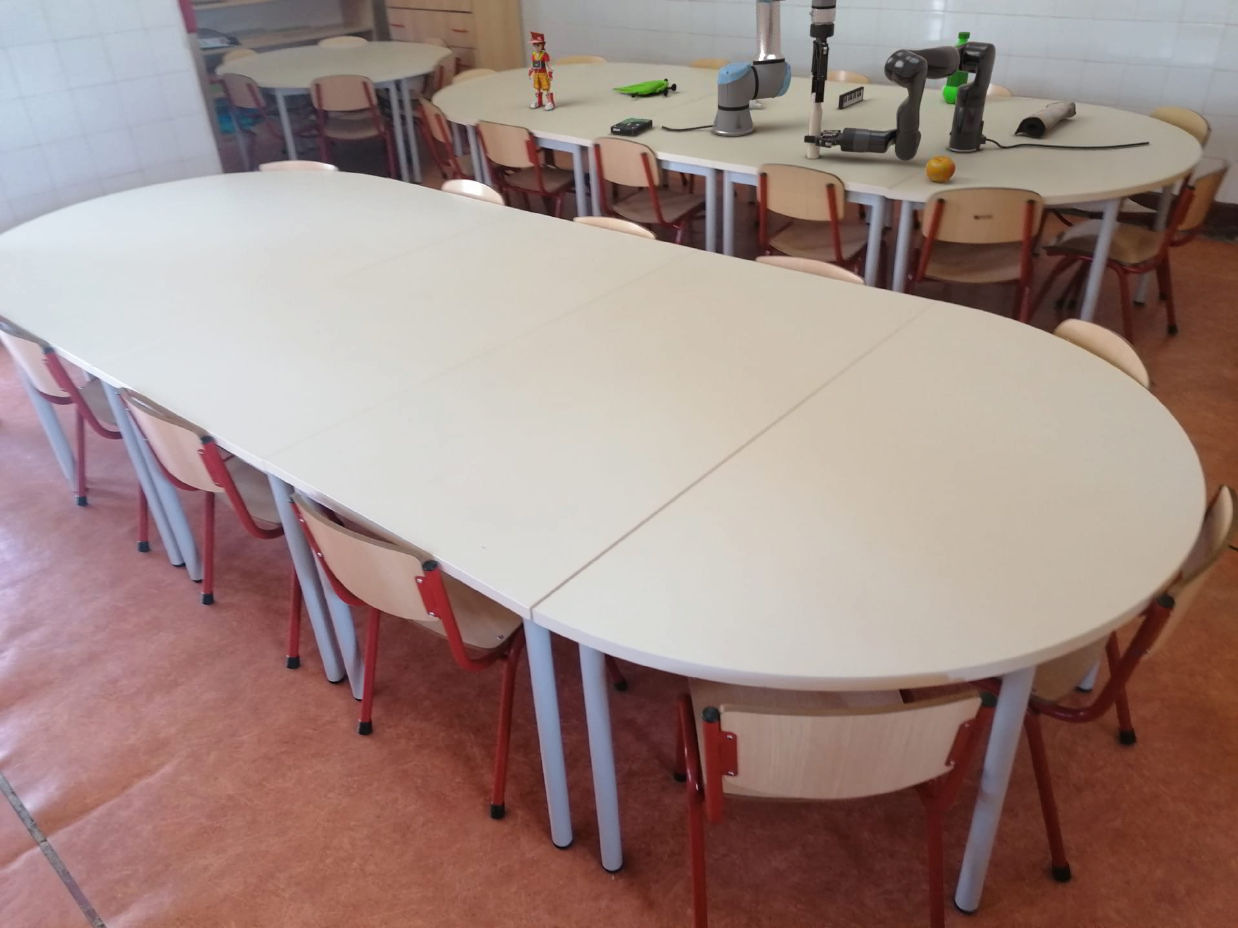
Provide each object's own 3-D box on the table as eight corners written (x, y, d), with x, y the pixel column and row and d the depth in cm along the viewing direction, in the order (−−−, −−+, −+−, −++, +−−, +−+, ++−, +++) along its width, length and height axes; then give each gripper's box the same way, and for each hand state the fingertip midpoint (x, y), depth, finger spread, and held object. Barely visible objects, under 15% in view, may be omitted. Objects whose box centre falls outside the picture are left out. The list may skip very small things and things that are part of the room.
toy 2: (686, 85, 398) (631, 84, 414) (685, 72, 395) (629, 72, 411) (651, 104, 381) (596, 103, 397) (650, 92, 378) (594, 91, 394)
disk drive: (633, 137, 337) (653, 126, 347) (633, 129, 336) (652, 119, 346) (610, 134, 342) (630, 124, 352) (609, 127, 340) (630, 117, 350)
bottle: (807, 155, 307) (811, 95, 296) (819, 155, 306) (824, 95, 295) (806, 158, 304) (810, 98, 293) (818, 158, 303) (823, 98, 292)
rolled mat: (1043, 106, 330) (1068, 89, 322) (1057, 127, 331) (1082, 110, 323) (1010, 128, 313) (1035, 111, 305) (1024, 150, 313) (1050, 133, 305)
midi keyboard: (840, 109, 355) (842, 95, 352) (838, 108, 355) (839, 95, 353) (863, 99, 365) (864, 86, 362) (860, 99, 366) (861, 86, 363)
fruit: (919, 172, 274) (936, 148, 271) (921, 174, 282) (937, 151, 279) (942, 187, 273) (960, 164, 270) (943, 189, 281) (960, 166, 278)
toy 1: (525, 109, 381) (517, 32, 364) (534, 104, 388) (527, 28, 371) (550, 110, 377) (543, 32, 360) (559, 105, 384) (553, 28, 367)
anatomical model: (728, 80, 368) (752, 74, 367) (733, 106, 374) (756, 99, 373) (735, 89, 356) (760, 82, 355) (739, 115, 362) (764, 108, 361)
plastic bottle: (973, 101, 354) (984, 32, 339) (955, 106, 349) (966, 36, 335) (952, 97, 361) (962, 29, 346) (934, 102, 356) (944, 33, 342)
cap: (808, 100, 296) (809, 93, 295) (819, 98, 297) (820, 92, 296) (814, 102, 293) (814, 96, 292) (825, 101, 294) (825, 94, 292)
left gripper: (805, 18, 290) (800, 94, 303) (816, 28, 274) (811, 107, 287) (828, 17, 289) (822, 92, 303) (841, 27, 274) (834, 106, 287)
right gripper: (863, 123, 299) (812, 120, 306) (853, 134, 289) (801, 131, 295) (860, 146, 304) (811, 142, 310) (850, 158, 293) (799, 154, 300)
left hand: (817, 100), depth 295 cm, fingers open, 6 cm apart
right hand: (806, 137), depth 303 cm, fingers closed on bottle, 4 cm apart
